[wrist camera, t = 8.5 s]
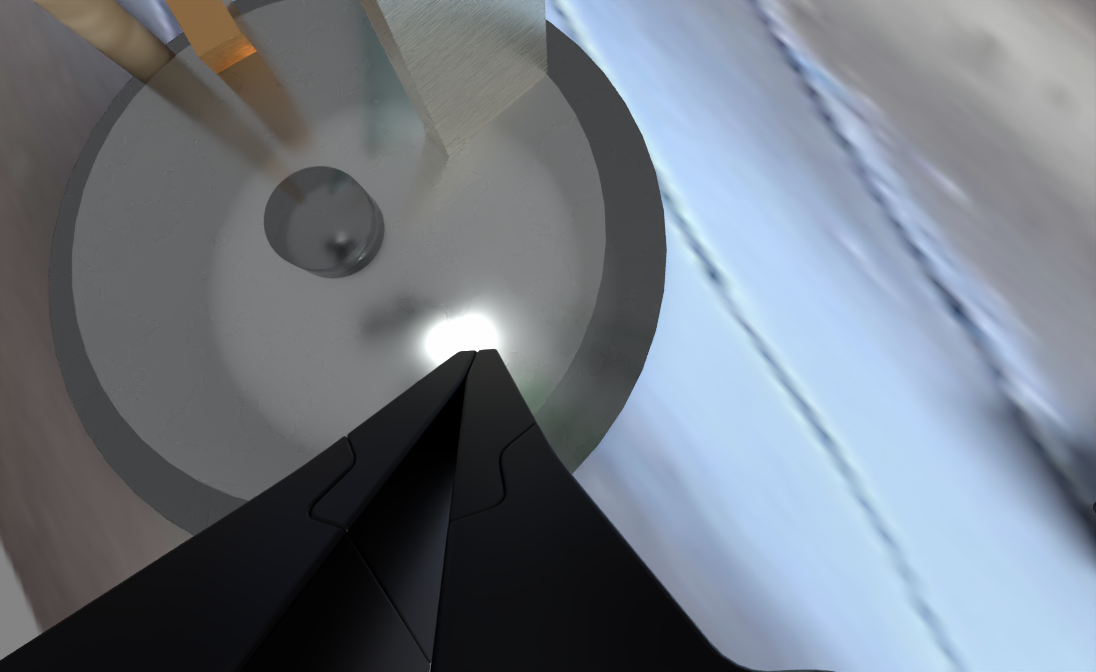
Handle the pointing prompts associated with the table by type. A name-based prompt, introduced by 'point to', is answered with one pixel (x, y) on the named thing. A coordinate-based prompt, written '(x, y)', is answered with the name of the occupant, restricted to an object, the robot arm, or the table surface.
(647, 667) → the robot arm
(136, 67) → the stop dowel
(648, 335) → the grey round disc
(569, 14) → the table surface
